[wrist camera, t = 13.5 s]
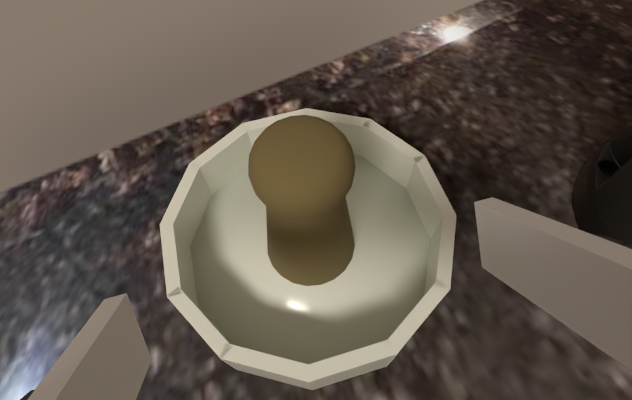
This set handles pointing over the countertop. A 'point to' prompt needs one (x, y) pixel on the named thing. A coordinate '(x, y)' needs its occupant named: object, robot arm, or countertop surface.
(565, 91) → the countertop surface
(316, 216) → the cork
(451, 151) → the countertop surface
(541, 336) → the countertop surface
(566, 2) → the countertop surface
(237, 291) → the bowl
